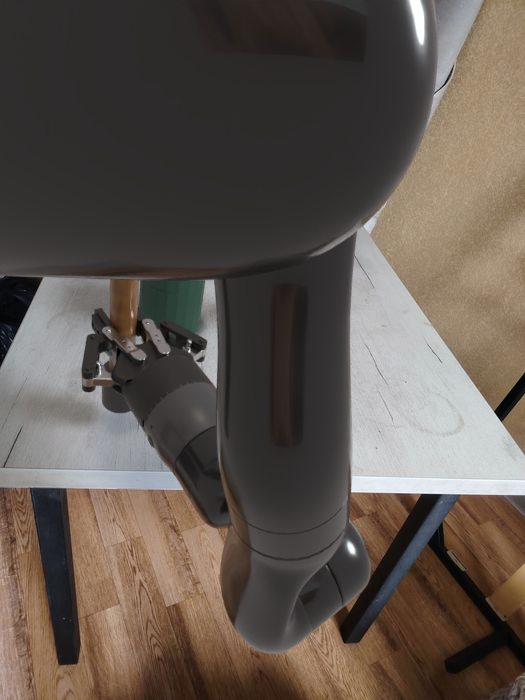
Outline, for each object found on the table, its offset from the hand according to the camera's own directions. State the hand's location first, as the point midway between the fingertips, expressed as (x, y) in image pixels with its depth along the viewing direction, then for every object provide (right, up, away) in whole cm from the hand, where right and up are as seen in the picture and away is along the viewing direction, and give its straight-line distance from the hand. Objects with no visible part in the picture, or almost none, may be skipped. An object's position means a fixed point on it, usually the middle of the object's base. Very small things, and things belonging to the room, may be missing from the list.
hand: (112, 312), depth 53 cm
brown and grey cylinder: (-1, -10, +5) cm, 11 cm away
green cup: (+1, +1, +26) cm, 26 cm away
